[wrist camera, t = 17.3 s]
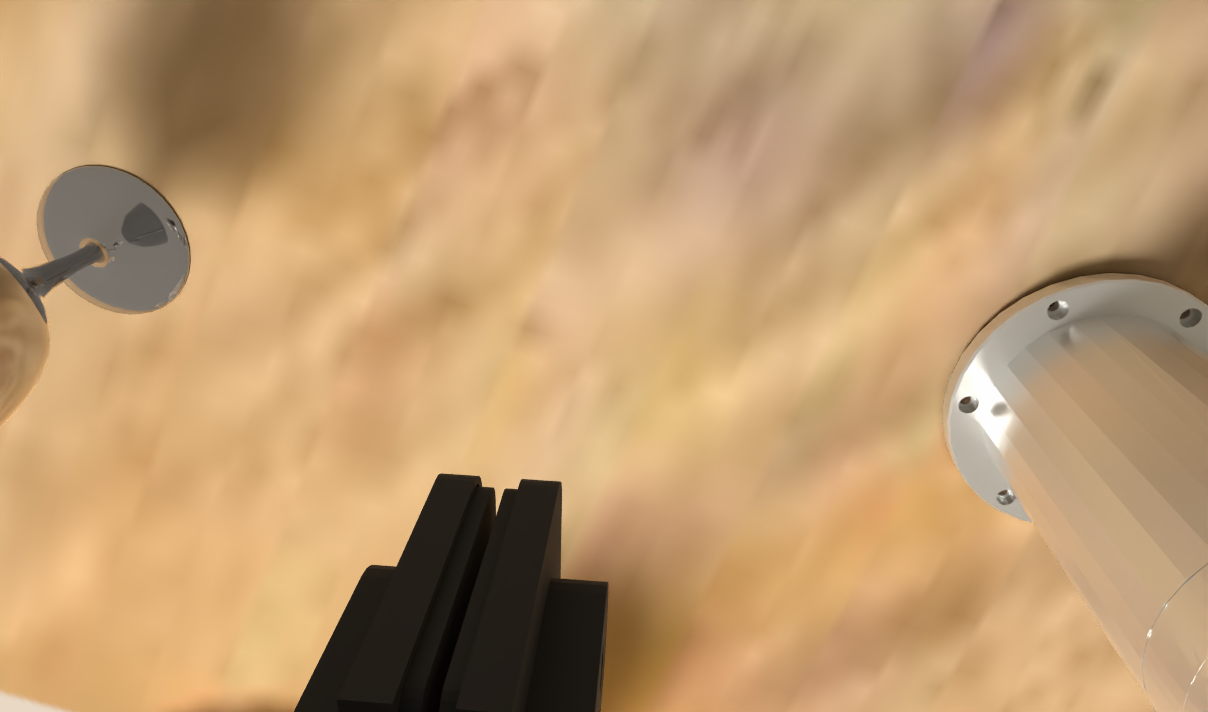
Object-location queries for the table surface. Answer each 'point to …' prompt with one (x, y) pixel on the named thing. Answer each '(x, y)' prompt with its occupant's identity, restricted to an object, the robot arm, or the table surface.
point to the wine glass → (88, 265)
